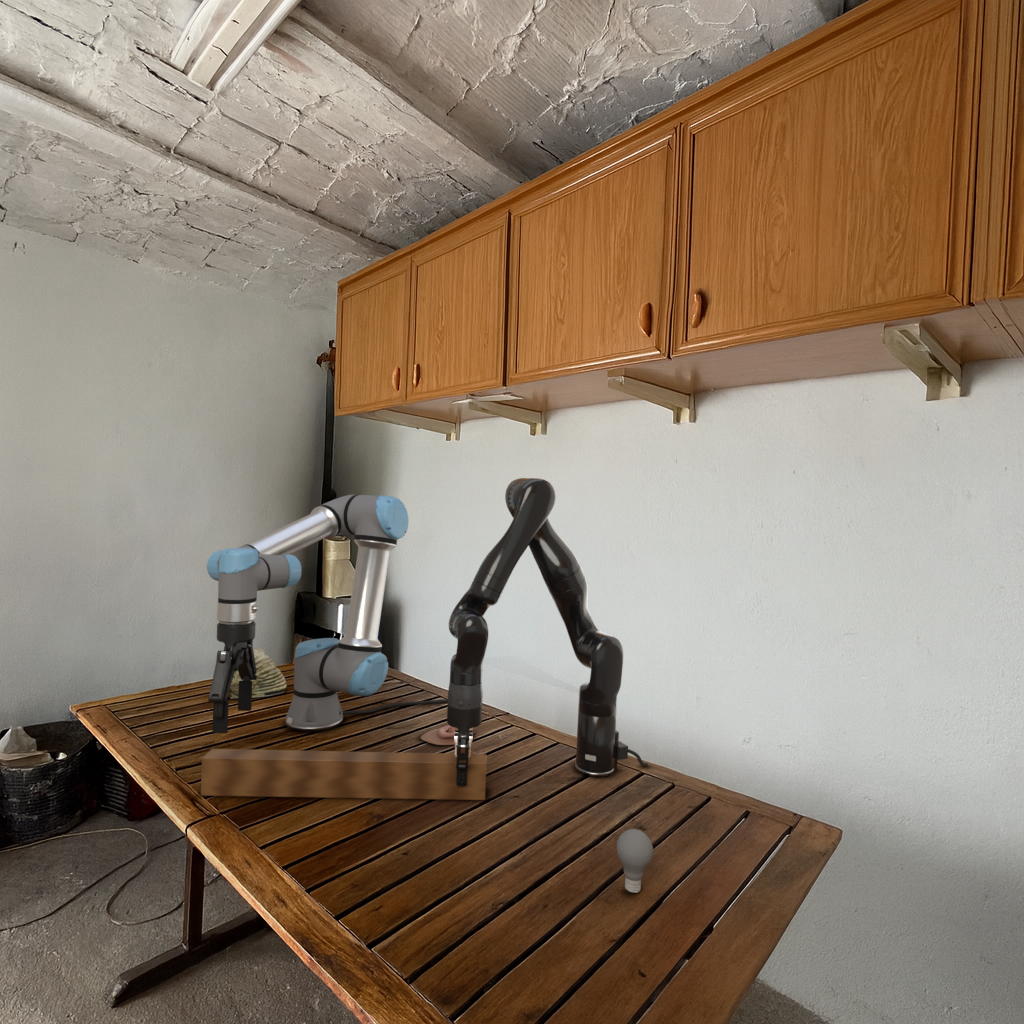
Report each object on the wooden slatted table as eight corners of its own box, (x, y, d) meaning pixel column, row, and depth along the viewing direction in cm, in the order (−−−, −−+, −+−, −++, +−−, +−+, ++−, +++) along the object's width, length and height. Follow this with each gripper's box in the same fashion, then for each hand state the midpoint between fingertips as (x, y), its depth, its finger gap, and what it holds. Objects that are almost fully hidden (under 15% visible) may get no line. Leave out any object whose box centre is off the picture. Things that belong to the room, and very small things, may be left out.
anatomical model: (416, 727, 165) (431, 713, 176) (416, 742, 165) (430, 727, 176) (465, 733, 162) (477, 718, 174) (465, 748, 162) (476, 732, 174)
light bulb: (610, 879, 108) (613, 822, 108) (644, 879, 109) (647, 822, 109) (619, 902, 102) (622, 840, 102) (655, 901, 103) (658, 840, 103)
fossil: (218, 695, 195) (220, 647, 195) (278, 685, 208) (279, 640, 207) (228, 703, 189) (230, 653, 188) (289, 692, 201) (290, 645, 201)
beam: (200, 795, 132) (201, 758, 132) (210, 784, 137) (211, 748, 137) (485, 800, 135) (486, 763, 135) (484, 789, 140) (486, 754, 140)
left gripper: (232, 634, 122) (228, 743, 122) (273, 611, 147) (269, 702, 147) (192, 633, 121) (188, 743, 122) (240, 610, 146) (236, 701, 147)
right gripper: (482, 713, 130) (479, 795, 131) (482, 692, 145) (478, 766, 145) (446, 712, 130) (442, 794, 130) (449, 691, 144) (445, 765, 145)
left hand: (232, 721), depth 134 cm, fingers open, 13 cm apart
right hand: (461, 779), depth 138 cm, fingers closed on beam, 5 cm apart
